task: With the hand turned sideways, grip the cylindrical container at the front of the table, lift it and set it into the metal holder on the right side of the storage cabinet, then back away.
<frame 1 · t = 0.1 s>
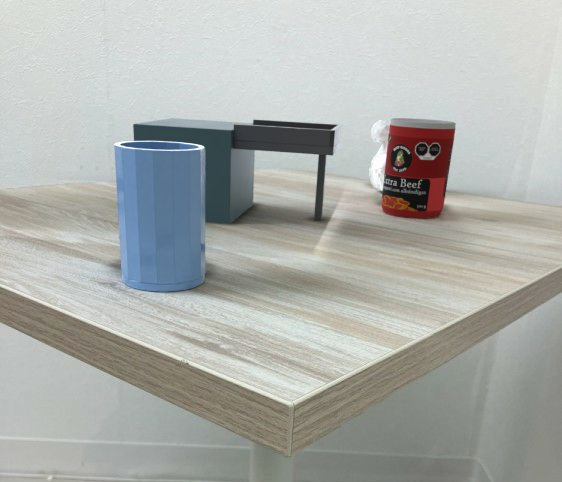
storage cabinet: (199, 218, 73), on the table
cylindrical container: (163, 279, 51), on the table
canned food: (410, 214, 82), on the table
bust: (388, 193, 97), on the table
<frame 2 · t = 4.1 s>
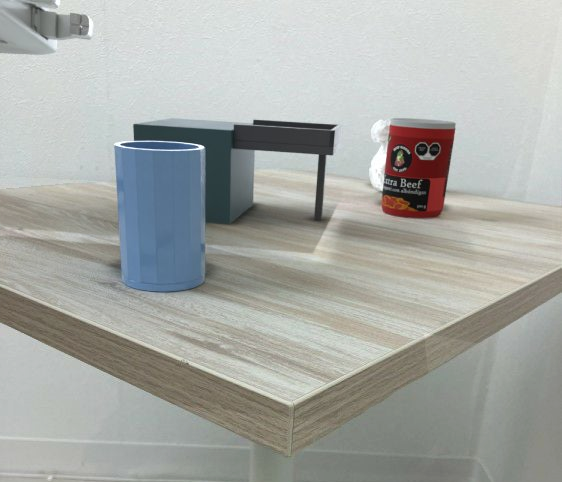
hand: (75, 12, 55), 19 cm above the table, tool horizontal, fingers open, 8 cm apart
nothing on the table moved.
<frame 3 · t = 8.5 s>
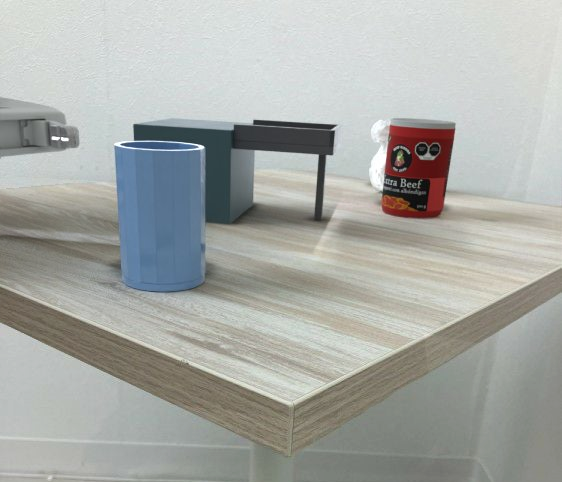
hand: (32, 140, 51), 9 cm above the table, tool horizontal, fingers open, 8 cm apart
nothing on the table moved.
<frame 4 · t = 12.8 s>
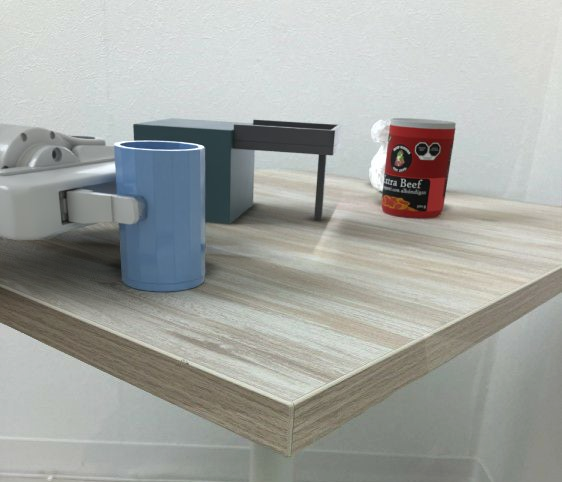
hand: (171, 202, 48), 6 cm above the table, tool horizontal, fingers closed on cylindrical container, 6 cm apart
cylindrical container: (163, 279, 51), on the table, touching gripper
everything else where it was.
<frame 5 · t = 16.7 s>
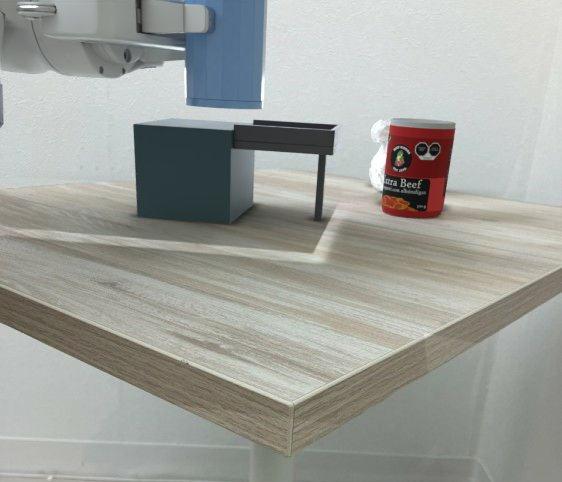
hand: (235, 24, 51), 18 cm above the table, tool horizontal, fingers closed on cylindrical container, 6 cm apart
cylindrical container: (224, 106, 54), point 12 cm above the table, touching gripper
everything else where it was.
when the fingers open (15 cm above the table, at t = 20.7 s): cylindrical container stays where it is, resting on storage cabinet.
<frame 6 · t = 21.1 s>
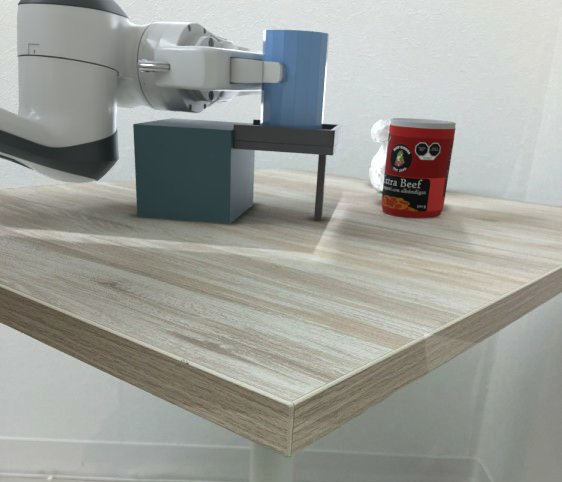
hand: (302, 74, 65), 15 cm above the table, tool horizontal, fingers open, 8 cm apart
cylindrical container: (290, 139, 68), point 9 cm above the table, touching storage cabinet
everything else where it was.
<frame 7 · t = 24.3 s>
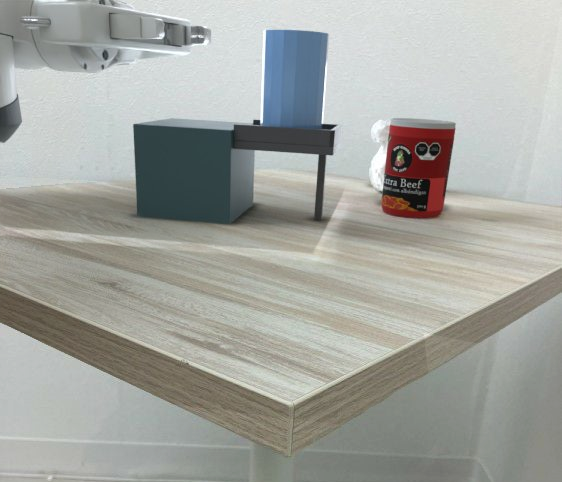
hand: (185, 32, 68), 19 cm above the table, tool horizontal, fingers open, 8 cm apart
nothing on the table moved.
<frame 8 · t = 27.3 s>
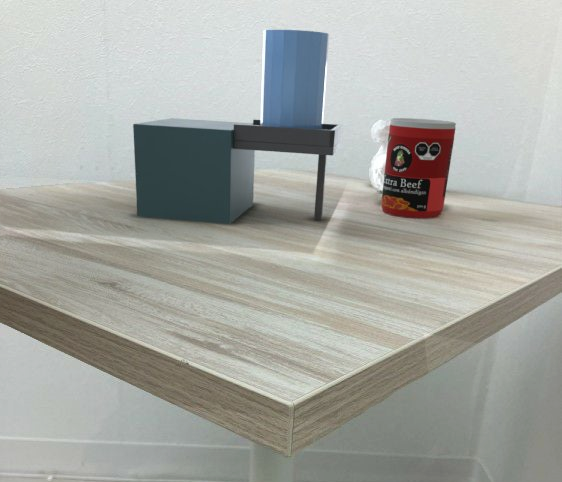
nothing on the table moved.
at the end: cylindrical container inside the target area on the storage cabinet (0.1 cm from its centre), point 9.0 cm above the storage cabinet's base; cylindrical container tilted 0°; the gripper is holding nothing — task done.
